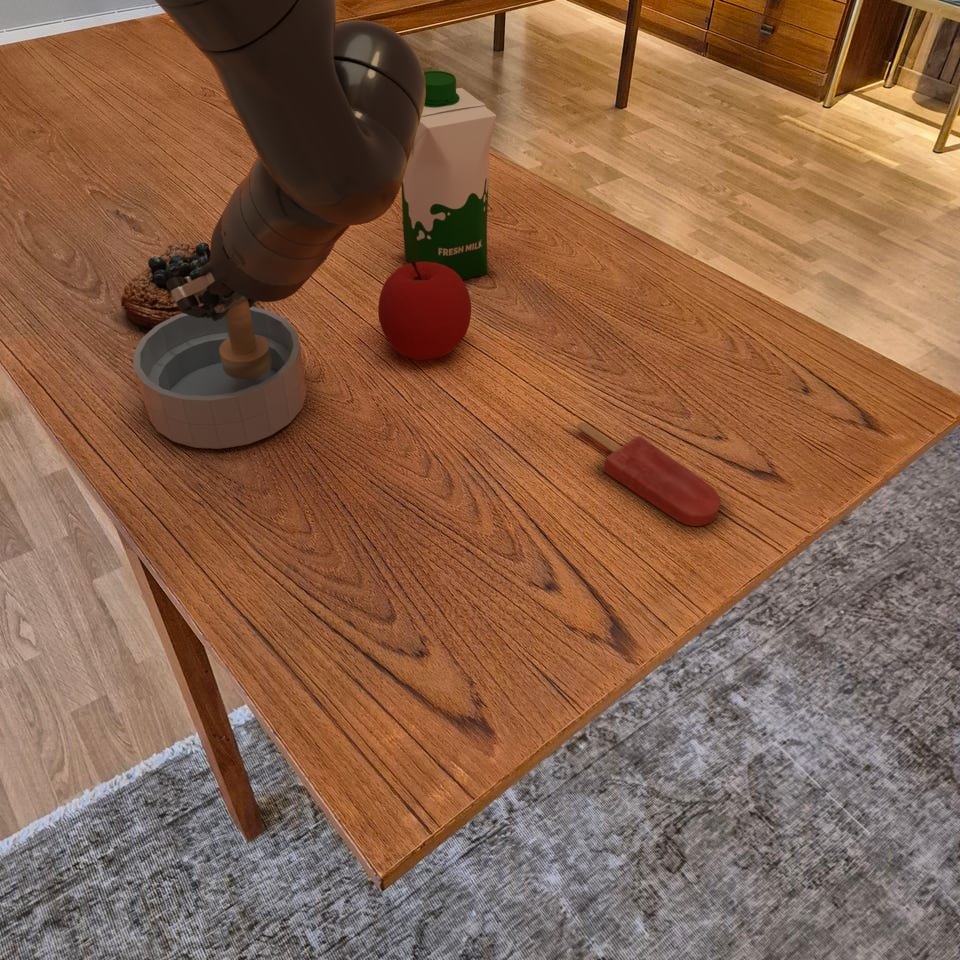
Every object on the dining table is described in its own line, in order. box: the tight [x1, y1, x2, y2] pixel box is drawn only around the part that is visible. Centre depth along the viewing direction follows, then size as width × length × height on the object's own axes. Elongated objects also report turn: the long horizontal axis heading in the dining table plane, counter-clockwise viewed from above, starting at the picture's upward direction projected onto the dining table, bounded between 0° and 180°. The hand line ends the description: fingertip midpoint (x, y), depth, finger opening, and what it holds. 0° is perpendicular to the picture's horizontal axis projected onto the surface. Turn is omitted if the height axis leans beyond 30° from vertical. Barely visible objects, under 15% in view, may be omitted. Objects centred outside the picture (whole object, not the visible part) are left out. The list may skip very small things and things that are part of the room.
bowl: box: [132, 306, 307, 450], centre depth 80 cm, size 14×14×6 cm
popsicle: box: [577, 421, 721, 527], centre depth 76 cm, size 4×2×15 cm
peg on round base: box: [219, 298, 272, 379], centre depth 77 cm, size 4×4×12 cm
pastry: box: [120, 242, 211, 334], centre depth 92 cm, size 11×12×6 cm
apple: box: [377, 259, 472, 361], centre depth 86 cm, size 9×9×10 cm
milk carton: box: [400, 70, 497, 281], centre depth 94 cm, size 9×9×20 cm
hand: (226, 304), depth 79 cm, fingers closed on peg on round base, 2 cm apart
